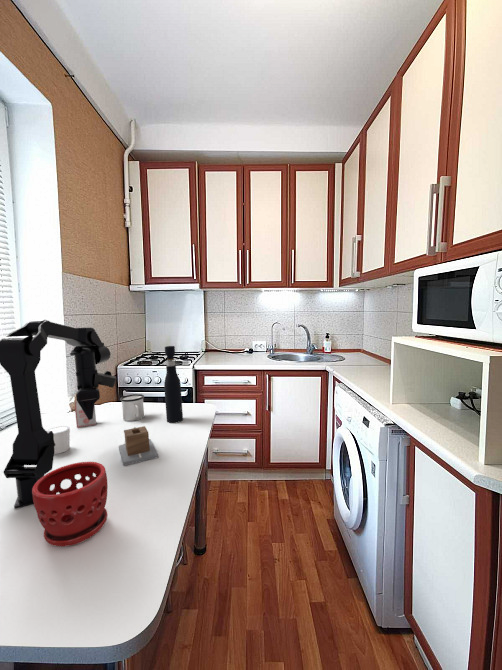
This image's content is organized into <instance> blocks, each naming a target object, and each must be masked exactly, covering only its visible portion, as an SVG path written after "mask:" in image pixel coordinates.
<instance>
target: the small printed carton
mask: <svg viewBox="0 0 502 670" xmlns="http://www.w3.org/2000/svg"><path fill="white" fill-rule="evenodd" d="M74 407H75V409H74V413H75V422H76V424H75V425H76V428H82V427H83V428H84V427H90V426H95V425H96V424H97V417H96V416H97V415H96V406H95V404H94V411H93V419H91V420H88V418H87V416H86V415H85V413H84V411H83V410H82V408H81V407H80V405H79V403H78V402H77V401H74Z"/></svg>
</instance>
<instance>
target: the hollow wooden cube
mask: <svg viewBox="0 0 502 670" xmlns="http://www.w3.org/2000/svg"><path fill="white" fill-rule="evenodd" d="M149 435H150V434H149V430H148V429H147V427H146V426H145V425H143V426H139V427H138V426H137V427H135V426H134V427H133V428H128V429H124V442H125V443H124V444H125V445H126V451H127V454H128V456H130V455H135V454H139V453H143V452H148V451H150V447H149V439H150V436H149Z"/></svg>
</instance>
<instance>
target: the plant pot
mask: <svg viewBox="0 0 502 670" xmlns="http://www.w3.org/2000/svg"><path fill="white" fill-rule="evenodd" d="M94 474H95V476H94ZM77 475H80V478H79V479H77V478H75V477H76V476H77ZM87 477H88V478H89V479H86V478H87ZM65 480H69V481H70V483H71V484H70V485H69V487H67V488H62V482H64V481H65ZM78 484H82V486H81V487H79V488H78V487H77V485H78ZM52 486H54V487H53V489H52V490H51V487H52ZM108 487H109V486H108V475H107V471H106V467H105V465H103V464H102V463H100V462H95V461H81V462H75V463H74V462H73V463H71V464H66V465H63V466H61V467H58V468H56V469H54V470H53V469H52V470H50V471H49V472H48V473H46V474H45V475H44V476H43V477H42V478H40V479H39V480H38V481H37V482H36V483H35V484H34V486H33V488H32V495H33V502H34V503H33V506H34V509H35V511H36V515H37V518H38V522H39V523H40V525H41V527H43V537H44V540H45V542H46V543H48V544H49V545H50V546H54V547H61V548H62V547H70V546H75V545H78V544H81V543H83V542H85V541H87V540H88V539H90V538H92V537H94V536H95V535H96V534H97V533H98V532H100V530H101V529H102V528H103V527H104V525H105V524H106V522H107V520H108V510H107V509H106V508H105V507H106V504H107V500H108V490H109V489H108ZM43 493H44V494H43Z"/></svg>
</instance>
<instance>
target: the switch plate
mask: <svg viewBox="0 0 502 670" xmlns="http://www.w3.org/2000/svg"><path fill="white" fill-rule="evenodd" d="M149 447H150V451H148V452H143V453H139V454H135V455H130V456H128V454H127V451H126V445H125V443H123V444H120V445H118V450H119V454H120V458H121V463H122V465H123V466H128V465H132V464H137V463H140V462H144V461H149V460H153V459H157V458H159V453H158V451H157V449H156V447H155V445H154V443H153V442H152V440H151V438H149Z"/></svg>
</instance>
